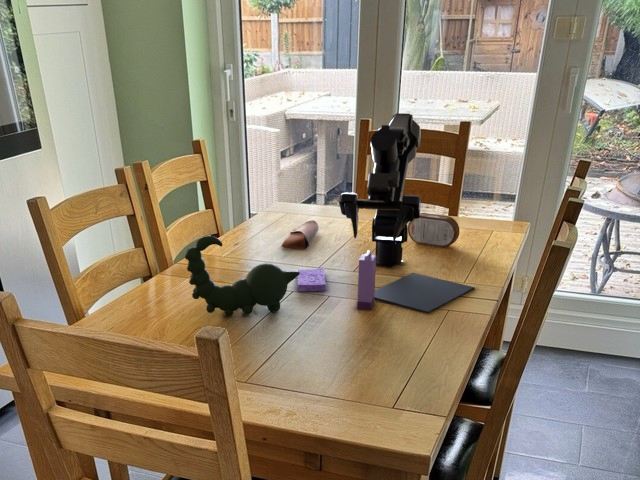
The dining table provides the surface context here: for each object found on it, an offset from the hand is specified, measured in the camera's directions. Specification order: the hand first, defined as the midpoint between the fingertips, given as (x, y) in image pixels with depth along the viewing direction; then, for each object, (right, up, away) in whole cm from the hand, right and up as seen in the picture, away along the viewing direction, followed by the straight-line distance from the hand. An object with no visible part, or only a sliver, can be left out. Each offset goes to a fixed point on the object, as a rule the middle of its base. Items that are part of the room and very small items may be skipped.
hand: (374, 238), depth 167 cm
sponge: (-14, -6, +16) cm, 22 cm away
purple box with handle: (-2, -16, +1) cm, 16 cm away
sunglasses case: (-16, +15, +47) cm, 52 cm away
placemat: (+12, -11, +8) cm, 18 cm away
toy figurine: (-30, -17, 0) cm, 35 cm away
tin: (+22, +12, +41) cm, 48 cm away
